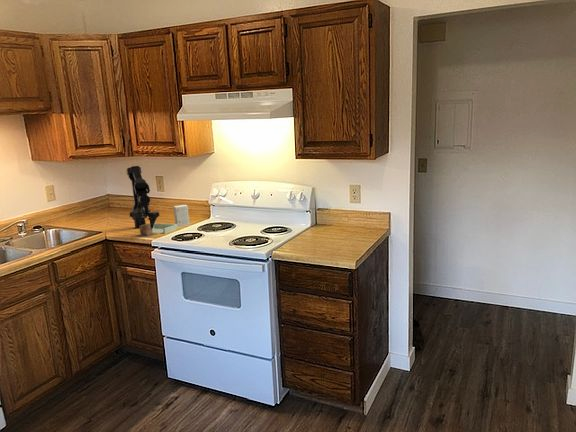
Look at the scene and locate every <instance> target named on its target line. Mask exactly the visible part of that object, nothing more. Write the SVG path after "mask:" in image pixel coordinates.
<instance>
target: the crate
mask: <svg viewBox="0 0 576 432" xmlns="http://www.w3.org/2000/svg"><path fill="white" fill-rule="evenodd" d="M178 229H179V227H178V224H176V223H159V222H155V223H154V226H153V228H152V231H153V233H158V234H167V233H169V232H174V231H175V230H178Z"/></svg>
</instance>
